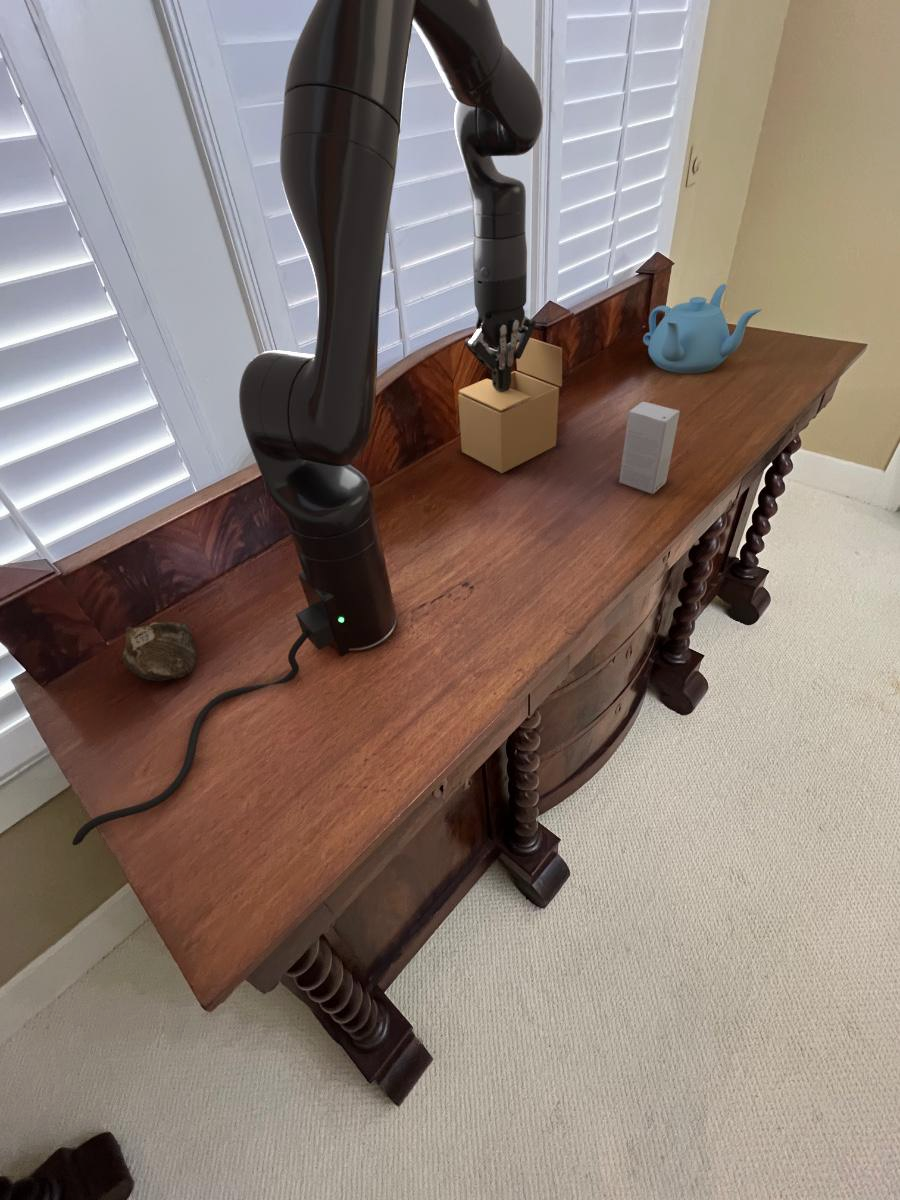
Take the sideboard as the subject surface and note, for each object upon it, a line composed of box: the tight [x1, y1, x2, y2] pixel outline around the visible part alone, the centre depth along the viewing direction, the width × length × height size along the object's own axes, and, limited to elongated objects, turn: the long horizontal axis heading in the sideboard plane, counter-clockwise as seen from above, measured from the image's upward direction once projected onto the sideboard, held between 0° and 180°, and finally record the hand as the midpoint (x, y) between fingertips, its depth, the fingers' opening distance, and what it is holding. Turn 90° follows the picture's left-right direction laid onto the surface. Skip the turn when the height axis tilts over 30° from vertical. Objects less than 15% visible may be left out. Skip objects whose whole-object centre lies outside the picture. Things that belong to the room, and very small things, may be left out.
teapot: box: [642, 283, 763, 375], centre depth 119 cm, size 17×19×12 cm
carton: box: [457, 337, 563, 474], centre depth 97 cm, size 14×10×17 cm
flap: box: [457, 378, 530, 411], centre depth 93 cm, size 6×10×1 cm, turn 39°
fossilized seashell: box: [121, 621, 197, 682], centre depth 69 cm, size 8×7×10 cm
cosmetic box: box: [618, 401, 681, 495], centre depth 87 cm, size 6×4×12 cm
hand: (501, 389), depth 94 cm, fingers closed
